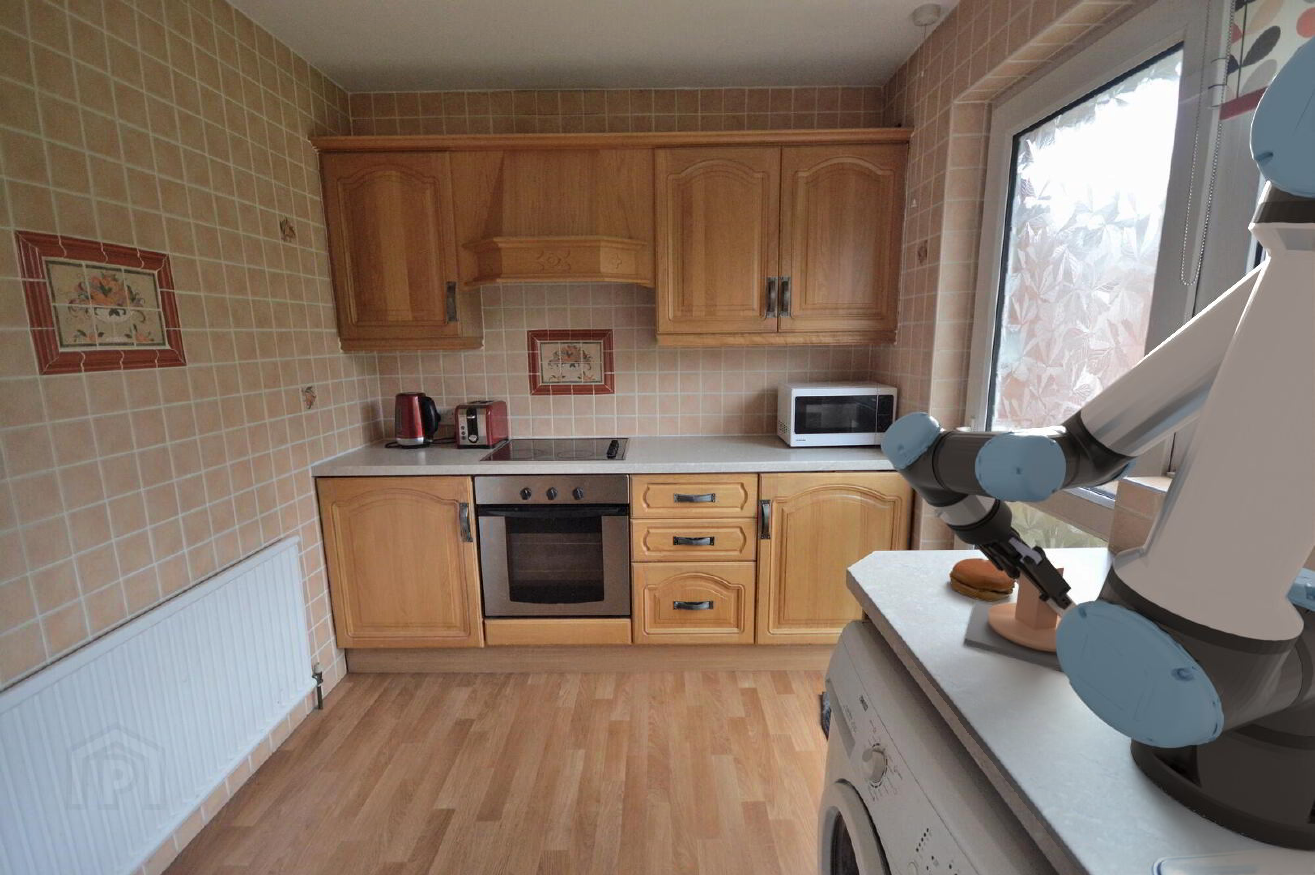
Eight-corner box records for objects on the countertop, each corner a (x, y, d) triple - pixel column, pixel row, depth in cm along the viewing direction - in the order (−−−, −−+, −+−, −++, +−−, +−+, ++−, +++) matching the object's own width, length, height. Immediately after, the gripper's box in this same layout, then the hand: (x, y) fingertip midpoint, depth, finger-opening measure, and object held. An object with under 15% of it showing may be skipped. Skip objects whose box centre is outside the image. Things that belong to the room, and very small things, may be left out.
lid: (1032, 656, 75) (1041, 585, 73) (969, 614, 86) (976, 551, 84) (1105, 647, 77) (1116, 577, 75) (1035, 607, 88) (1043, 545, 86)
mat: (1085, 677, 73) (1086, 672, 73) (964, 643, 81) (964, 638, 81) (1082, 632, 84) (1083, 628, 83) (974, 606, 91) (975, 601, 91)
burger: (959, 600, 94) (962, 574, 93) (942, 576, 103) (945, 552, 102) (1024, 606, 92) (1028, 579, 91) (1002, 581, 101) (1005, 556, 100)
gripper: (911, 507, 84) (997, 601, 90) (996, 549, 68) (1094, 660, 74) (947, 471, 84) (1030, 567, 90) (1040, 504, 68) (1134, 619, 74)
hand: (1059, 608), depth 82 cm, fingers closed on lid, 3 cm apart
